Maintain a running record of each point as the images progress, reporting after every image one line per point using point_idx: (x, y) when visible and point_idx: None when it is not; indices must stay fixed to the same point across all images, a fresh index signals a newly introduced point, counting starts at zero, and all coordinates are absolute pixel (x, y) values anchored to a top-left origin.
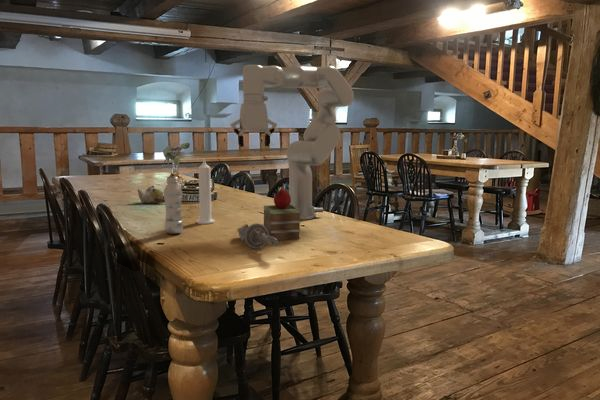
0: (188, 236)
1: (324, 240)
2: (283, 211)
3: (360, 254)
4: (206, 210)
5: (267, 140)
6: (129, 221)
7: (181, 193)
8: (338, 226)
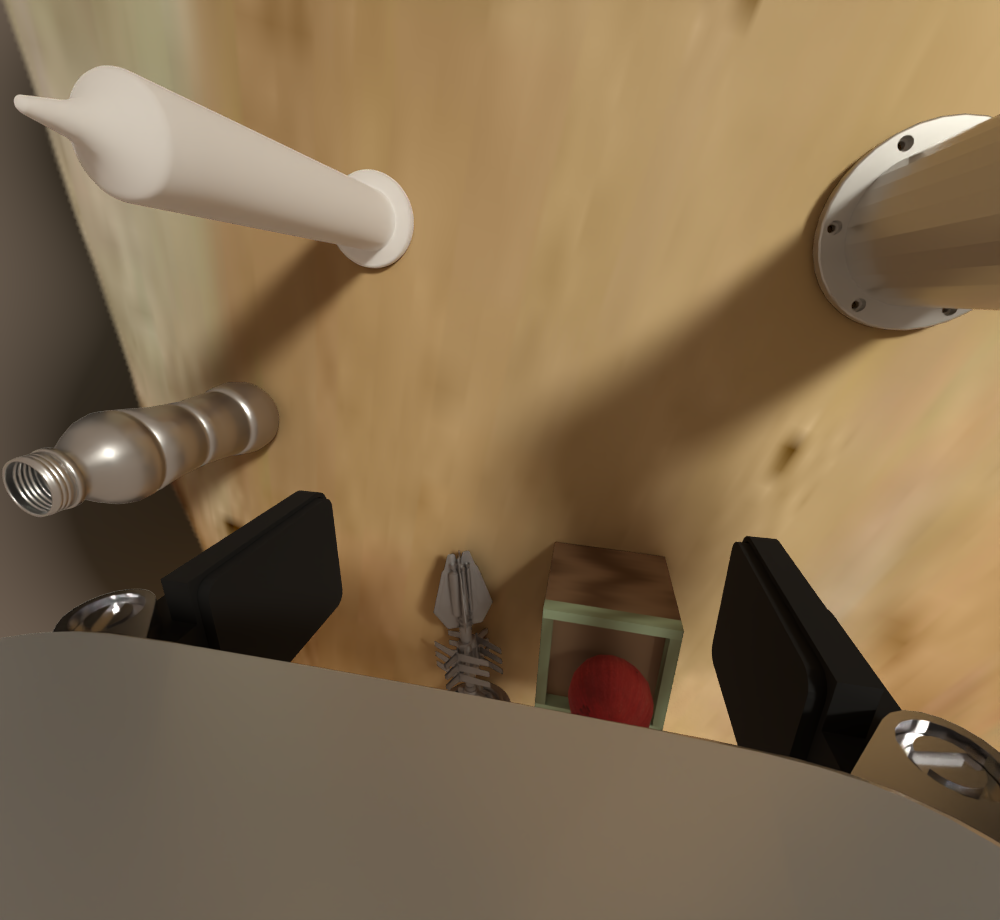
0: (305, 471)
1: (718, 693)
2: None
3: None
4: (345, 245)
5: (745, 743)
6: (51, 80)
7: (158, 480)
8: (942, 531)
